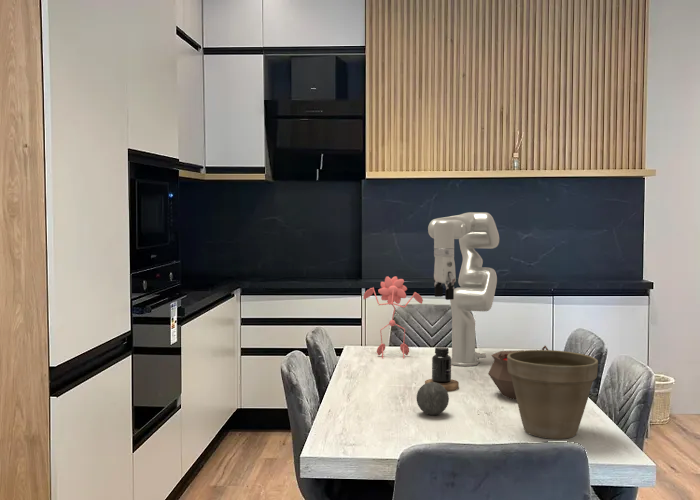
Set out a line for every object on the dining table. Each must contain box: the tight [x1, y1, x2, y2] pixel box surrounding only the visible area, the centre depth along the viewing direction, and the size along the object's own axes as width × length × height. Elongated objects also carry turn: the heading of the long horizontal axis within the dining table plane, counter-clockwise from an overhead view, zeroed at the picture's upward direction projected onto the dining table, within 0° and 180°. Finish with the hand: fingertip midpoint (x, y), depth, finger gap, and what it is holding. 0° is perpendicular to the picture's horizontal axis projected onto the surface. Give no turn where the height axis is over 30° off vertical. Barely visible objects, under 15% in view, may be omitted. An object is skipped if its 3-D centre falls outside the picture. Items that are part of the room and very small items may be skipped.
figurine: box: [363, 275, 424, 359], centre depth 321 cm, size 15×26×35 cm, turn 88°
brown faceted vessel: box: [487, 345, 549, 401], centre depth 250 cm, size 24×24×16 cm
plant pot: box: [507, 349, 599, 440], centre depth 208 cm, size 25×25×22 cm
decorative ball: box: [416, 382, 450, 416], centre depth 227 cm, size 10×10×10 cm
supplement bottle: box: [431, 346, 452, 383], centre depth 262 cm, size 7×7×12 cm
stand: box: [424, 378, 460, 393], centre depth 262 cm, size 12×12×2 cm
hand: (444, 297), depth 278 cm, fingers open, 9 cm apart
